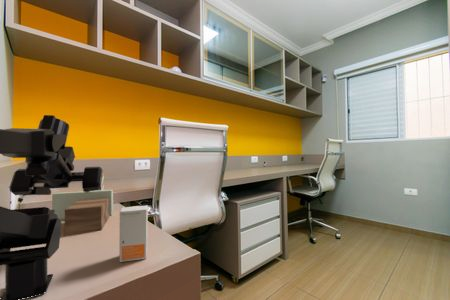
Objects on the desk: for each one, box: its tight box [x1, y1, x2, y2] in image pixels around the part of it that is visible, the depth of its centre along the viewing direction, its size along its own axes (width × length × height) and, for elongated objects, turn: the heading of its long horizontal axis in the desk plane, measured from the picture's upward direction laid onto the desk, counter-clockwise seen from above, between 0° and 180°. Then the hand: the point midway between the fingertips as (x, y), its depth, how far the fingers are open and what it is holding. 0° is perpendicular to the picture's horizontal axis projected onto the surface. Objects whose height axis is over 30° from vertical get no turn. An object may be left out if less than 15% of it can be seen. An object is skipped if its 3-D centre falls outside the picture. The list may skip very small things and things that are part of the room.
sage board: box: [51, 189, 114, 221], centre depth 84 cm, size 3×20×10 cm, turn 107°
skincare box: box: [119, 205, 149, 263], centre depth 52 cm, size 6×4×12 cm
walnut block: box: [64, 198, 110, 236], centre depth 74 cm, size 14×10×8 cm
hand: (69, 191), depth 62 cm, fingers open, 9 cm apart
